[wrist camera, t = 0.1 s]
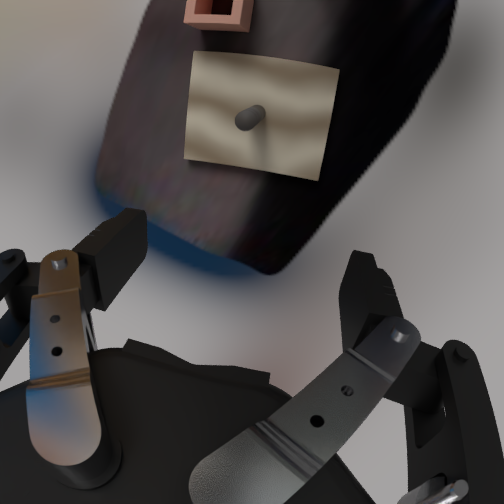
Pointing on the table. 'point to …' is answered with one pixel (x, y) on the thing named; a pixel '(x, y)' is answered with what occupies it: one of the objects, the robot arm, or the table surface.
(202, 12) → the bead
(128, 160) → the table surface
